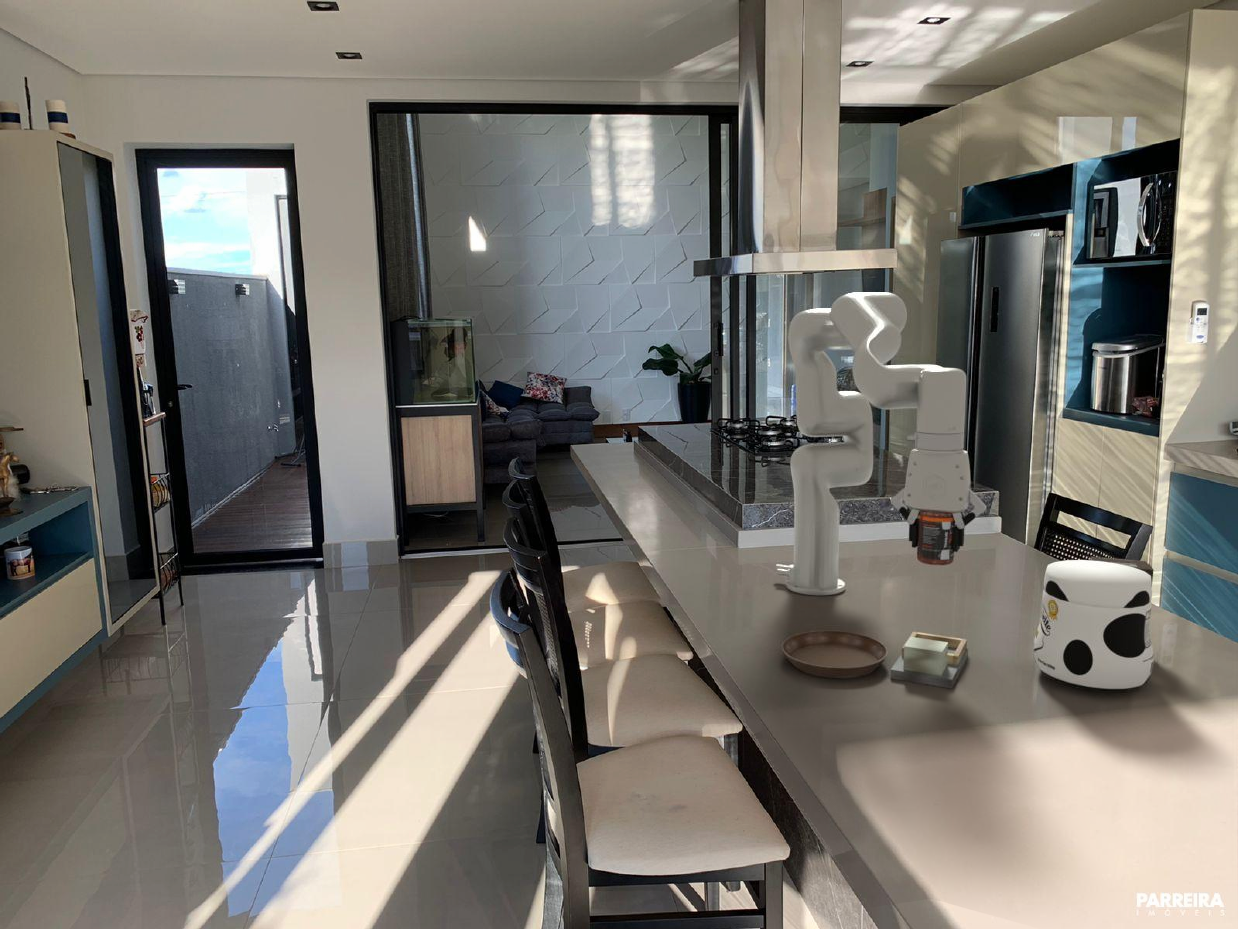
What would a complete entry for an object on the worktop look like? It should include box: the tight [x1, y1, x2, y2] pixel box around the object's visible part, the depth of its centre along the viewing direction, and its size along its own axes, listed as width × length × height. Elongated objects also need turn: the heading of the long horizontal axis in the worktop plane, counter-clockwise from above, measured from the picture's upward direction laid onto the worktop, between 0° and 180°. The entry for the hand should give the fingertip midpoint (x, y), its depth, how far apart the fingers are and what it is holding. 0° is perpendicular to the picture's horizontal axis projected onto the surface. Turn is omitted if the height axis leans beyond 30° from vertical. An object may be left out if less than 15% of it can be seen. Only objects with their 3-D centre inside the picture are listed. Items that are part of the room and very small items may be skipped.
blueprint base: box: [890, 631, 969, 689], centre depth 159 cm, size 10×16×6 cm, turn 151°
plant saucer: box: [781, 629, 888, 679], centre depth 162 cm, size 18×18×3 cm
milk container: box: [1033, 559, 1155, 693], centre depth 151 cm, size 17×17×18 cm
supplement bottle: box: [916, 510, 956, 566], centre depth 159 cm, size 6×6×11 cm
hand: (935, 547), depth 159 cm, fingers closed on supplement bottle, 6 cm apart
